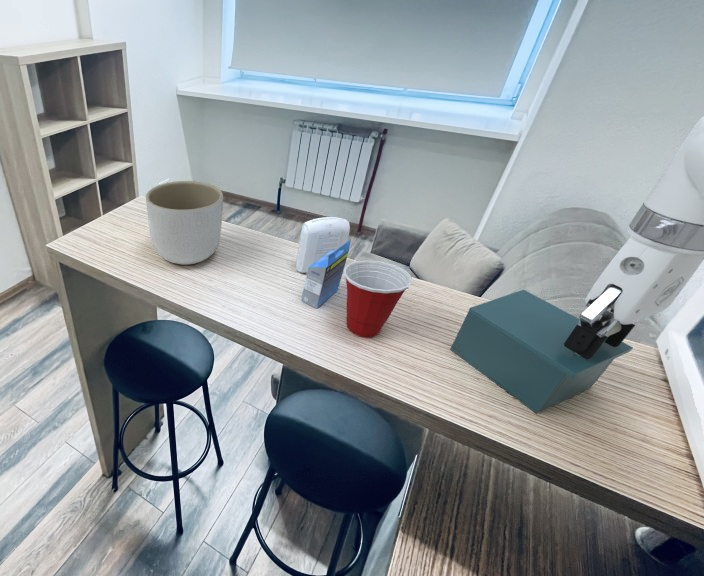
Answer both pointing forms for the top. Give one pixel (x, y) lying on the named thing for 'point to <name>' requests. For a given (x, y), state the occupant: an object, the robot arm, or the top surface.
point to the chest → (518, 366)
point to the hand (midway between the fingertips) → (590, 345)
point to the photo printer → (320, 240)
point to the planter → (185, 220)
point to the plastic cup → (372, 294)
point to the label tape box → (325, 276)
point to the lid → (544, 331)
